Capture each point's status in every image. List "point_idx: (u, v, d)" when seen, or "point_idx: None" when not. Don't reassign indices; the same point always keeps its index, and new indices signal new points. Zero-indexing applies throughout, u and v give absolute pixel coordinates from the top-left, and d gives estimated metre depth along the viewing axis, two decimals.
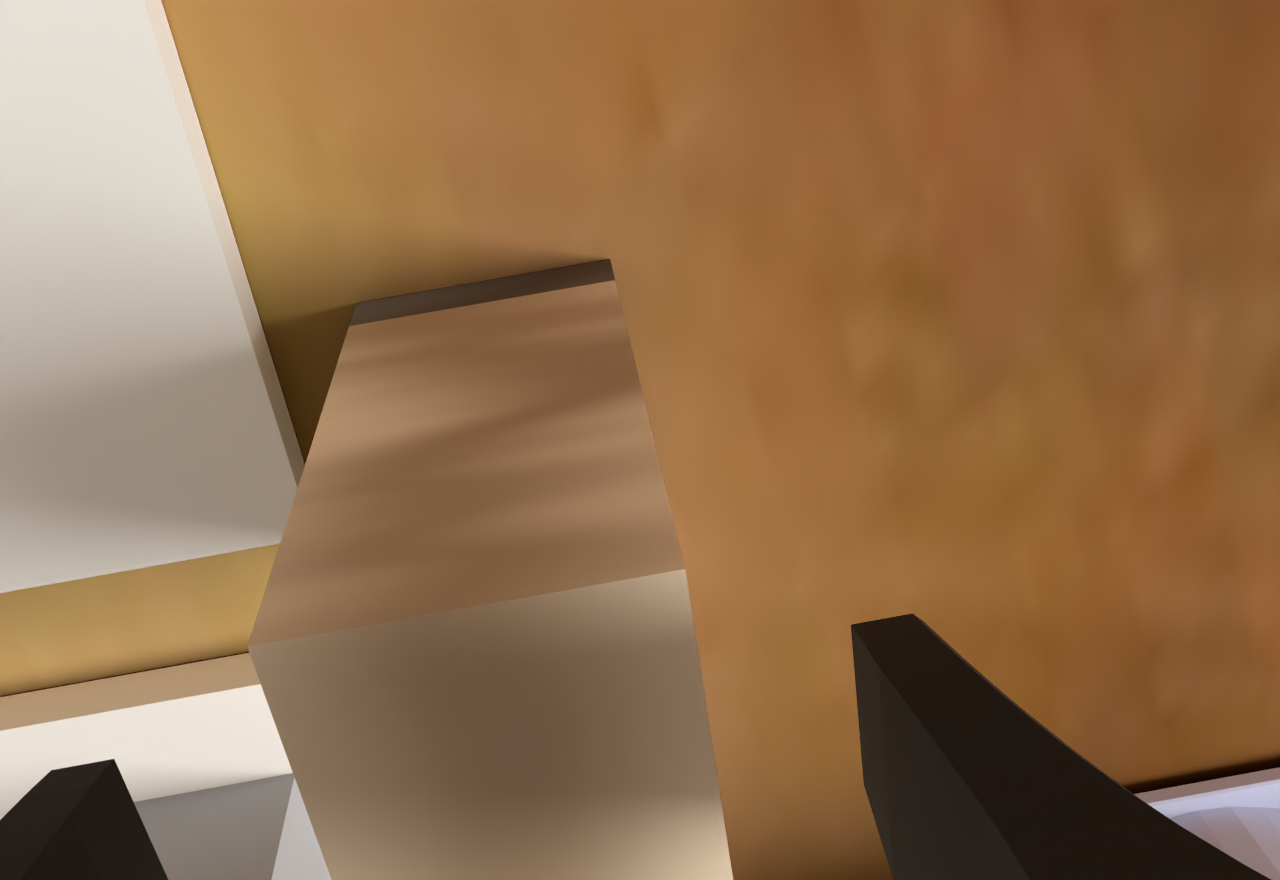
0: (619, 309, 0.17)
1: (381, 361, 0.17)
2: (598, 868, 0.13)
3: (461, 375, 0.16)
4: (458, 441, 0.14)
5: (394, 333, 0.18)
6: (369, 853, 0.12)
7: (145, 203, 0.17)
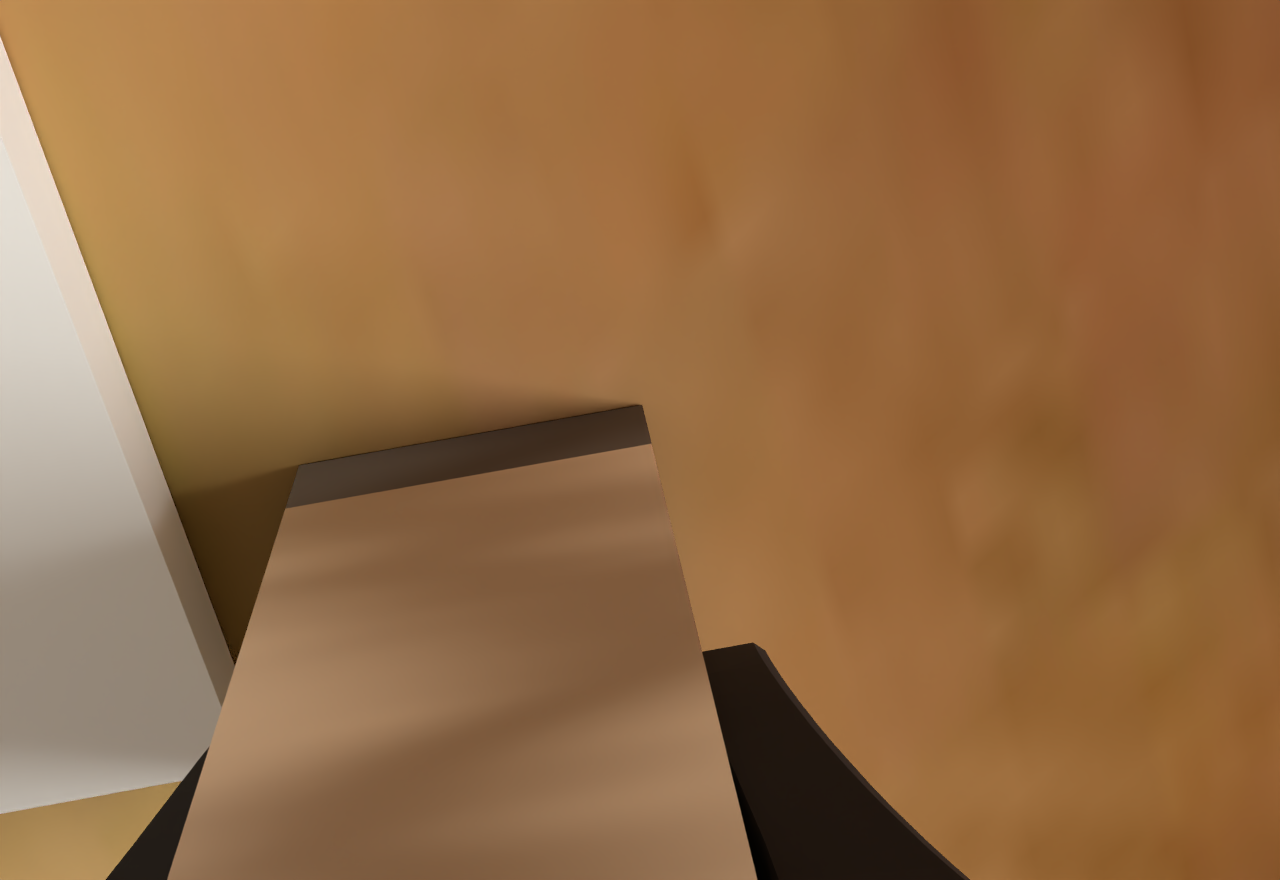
0: (660, 500, 0.12)
1: (324, 582, 0.12)
2: None
3: (436, 620, 0.11)
4: (429, 767, 0.09)
5: (346, 526, 0.13)
6: None
7: None
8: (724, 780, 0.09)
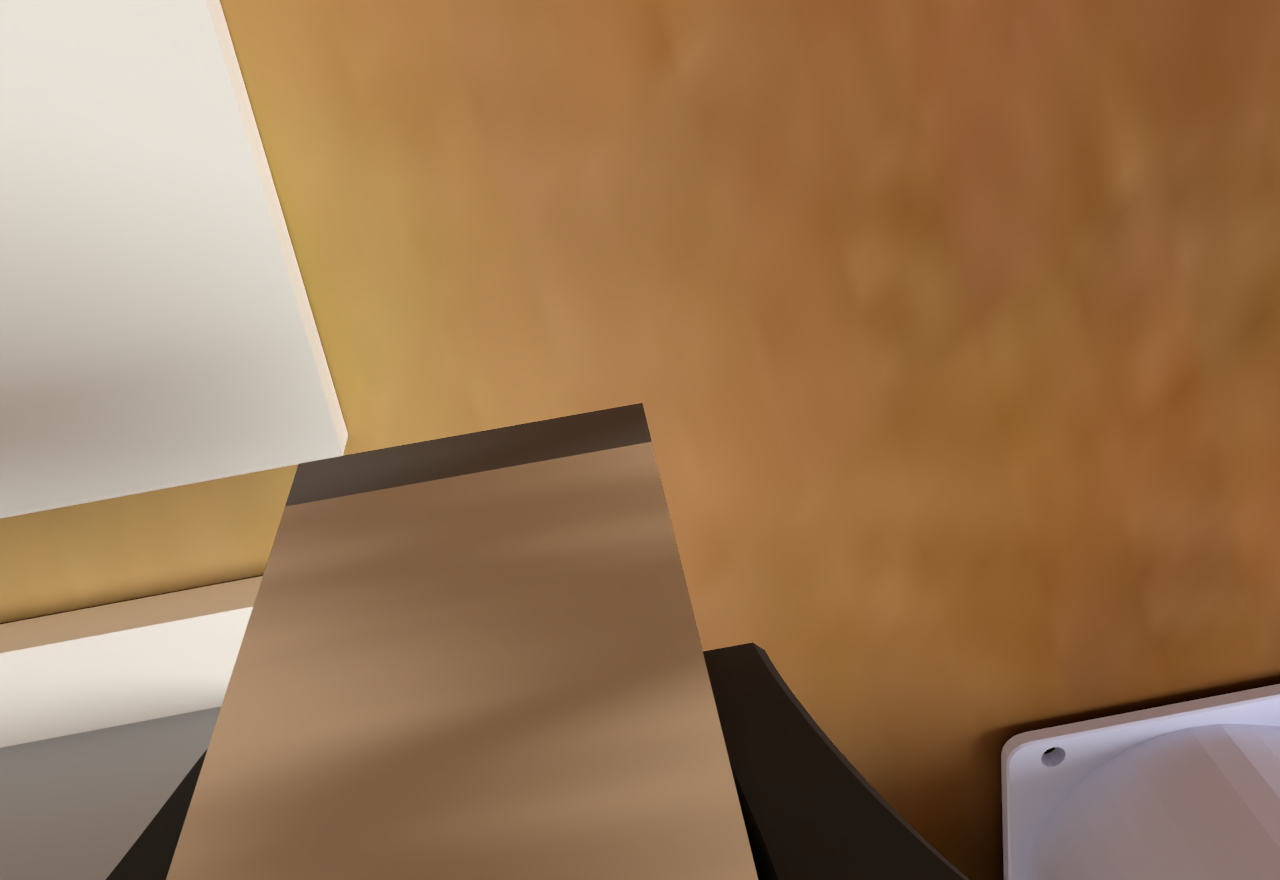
0: (660, 498, 0.12)
1: (324, 580, 0.12)
2: None
3: (437, 616, 0.11)
4: (428, 763, 0.09)
5: (346, 524, 0.13)
6: None
7: (186, 129, 0.18)
8: (724, 777, 0.09)
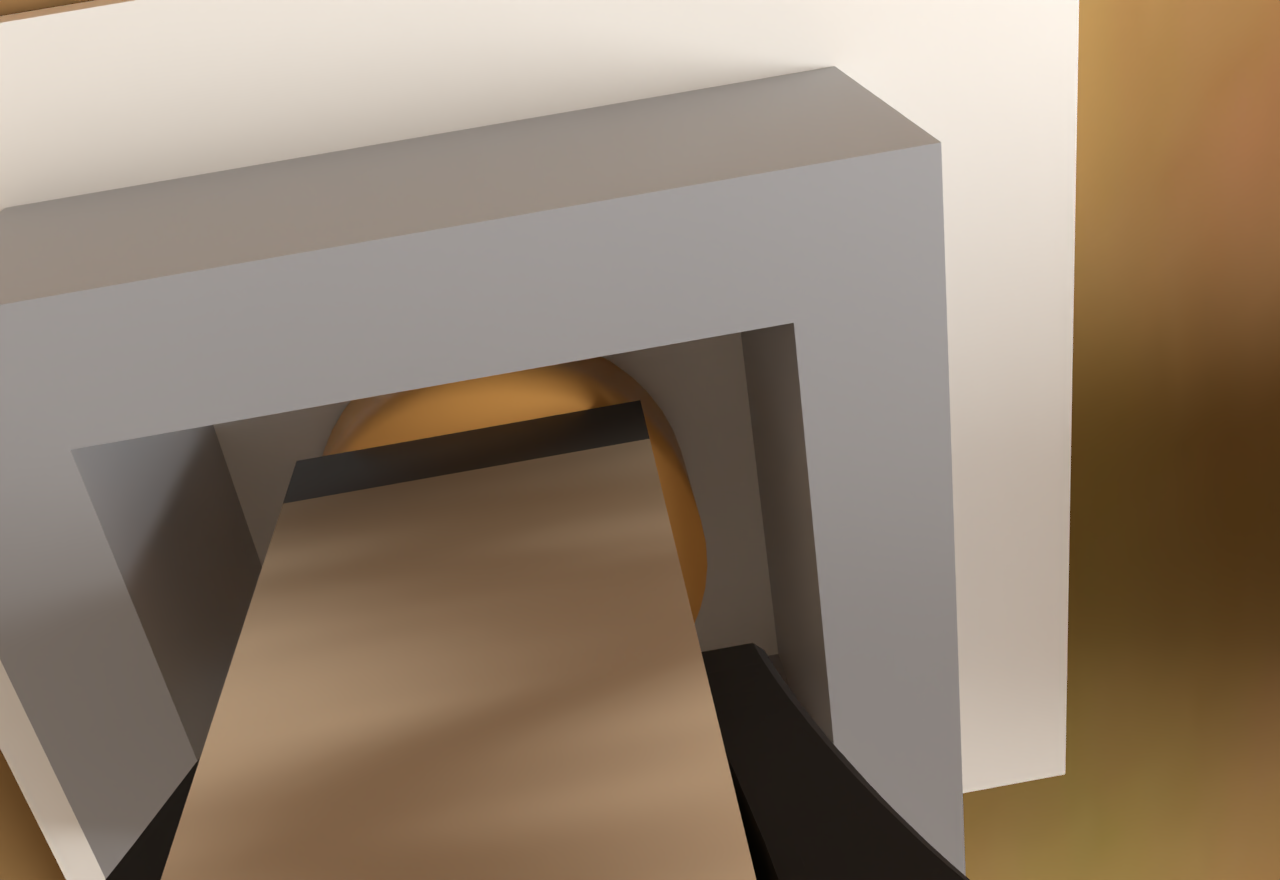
0: (658, 494, 0.12)
1: (321, 577, 0.12)
2: None
3: (434, 613, 0.11)
4: (425, 760, 0.09)
5: (343, 521, 0.13)
6: None
7: None
8: (721, 773, 0.09)
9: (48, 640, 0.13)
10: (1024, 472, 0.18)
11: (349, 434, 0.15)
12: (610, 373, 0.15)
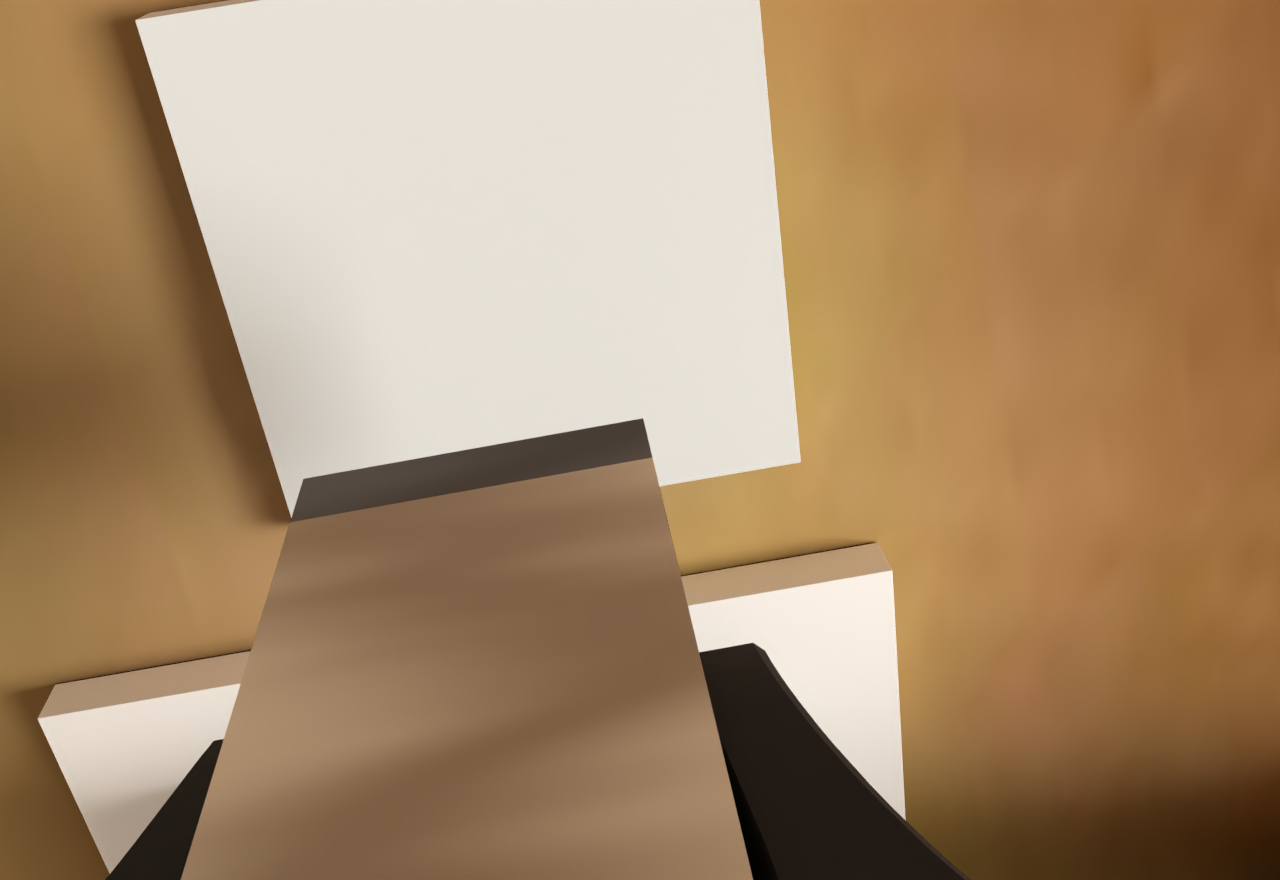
0: (660, 514, 0.12)
1: (329, 596, 0.12)
2: None
3: (440, 634, 0.11)
4: (434, 782, 0.09)
5: (350, 540, 0.13)
6: None
7: (720, 153, 0.19)
8: (724, 796, 0.09)
9: None
10: None
11: None
12: None
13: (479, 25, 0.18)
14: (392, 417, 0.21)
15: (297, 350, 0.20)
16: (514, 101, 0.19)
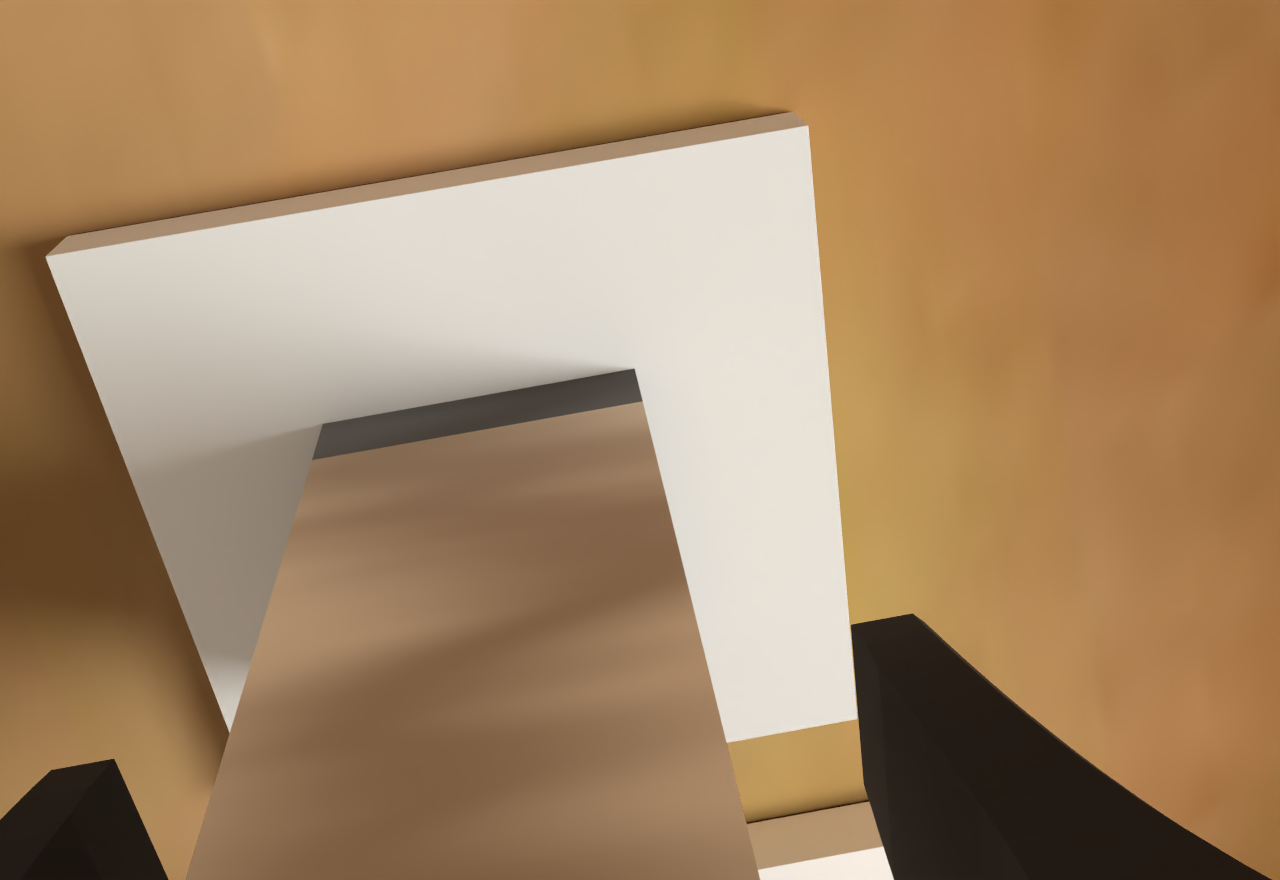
0: (649, 449, 0.14)
1: (349, 520, 0.13)
2: None
3: (451, 548, 0.12)
4: (447, 666, 0.11)
5: (367, 474, 0.14)
6: None
7: (765, 387, 0.16)
8: (701, 671, 0.10)
9: None
10: None
11: None
12: None
13: (472, 252, 0.15)
14: None
15: (256, 617, 0.17)
16: (515, 336, 0.15)
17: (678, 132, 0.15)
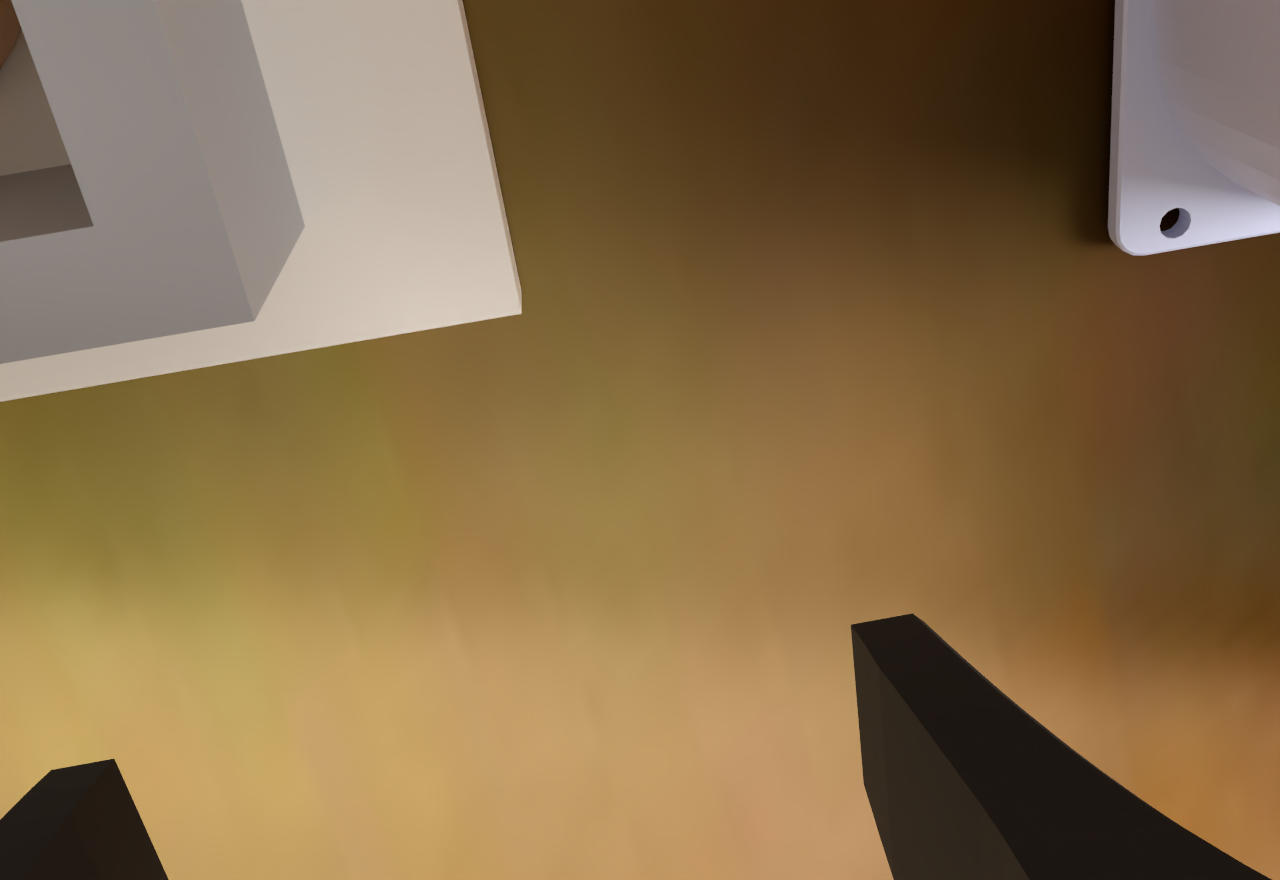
0: None
1: None
2: None
3: None
4: None
5: None
6: None
7: None
8: None
9: None
10: None
11: None
12: None
13: None
14: None
15: None
16: None
17: None
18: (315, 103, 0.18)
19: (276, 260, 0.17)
